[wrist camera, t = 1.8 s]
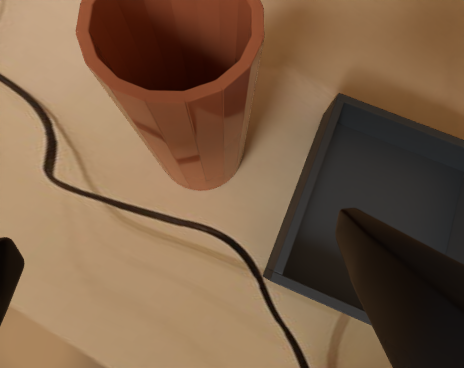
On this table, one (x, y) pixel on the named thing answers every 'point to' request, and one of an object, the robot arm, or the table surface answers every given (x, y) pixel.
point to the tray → (367, 197)
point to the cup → (179, 77)
